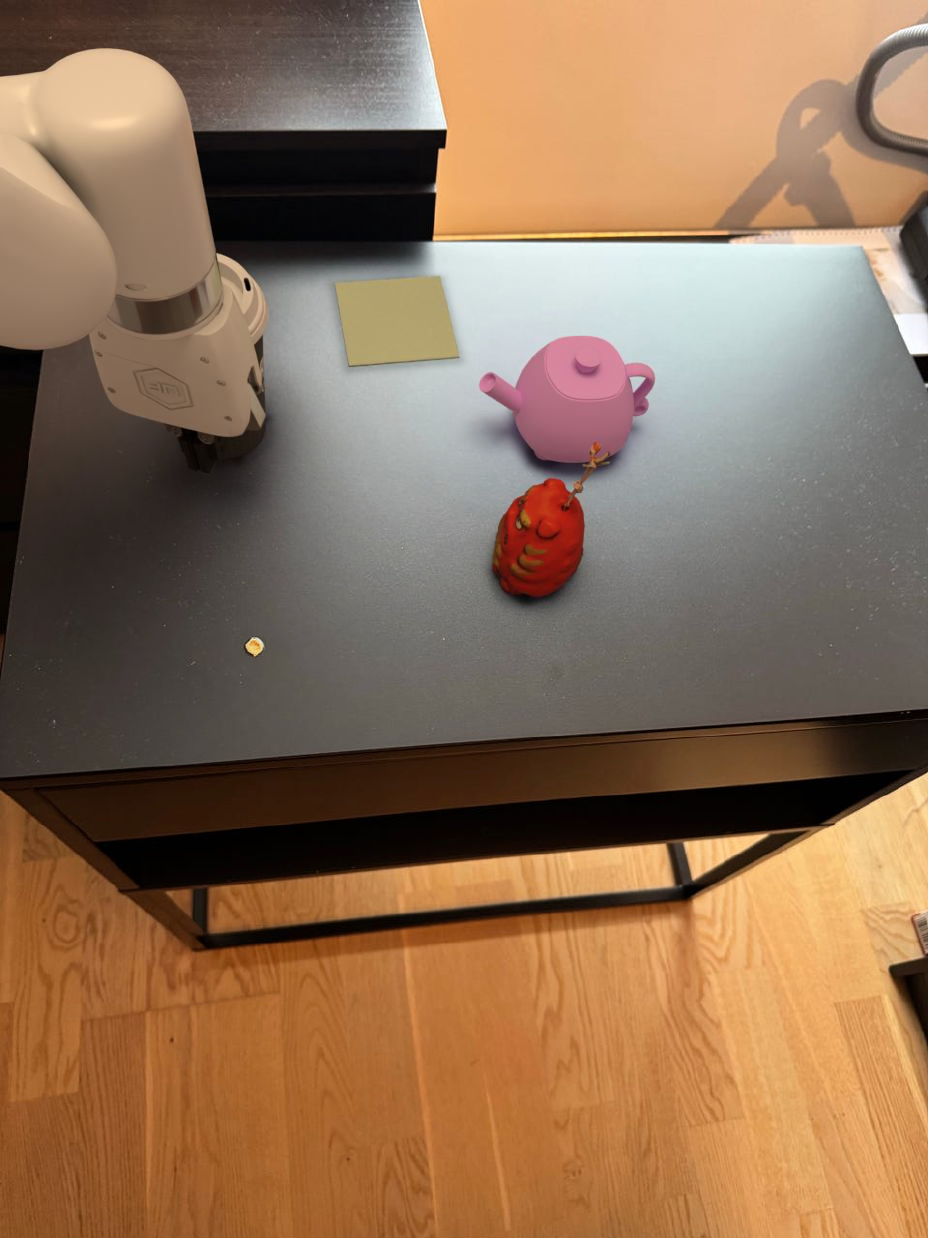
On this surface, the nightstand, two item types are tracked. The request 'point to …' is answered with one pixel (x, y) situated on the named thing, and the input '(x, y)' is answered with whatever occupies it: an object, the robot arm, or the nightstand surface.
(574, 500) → the red clay folk toy
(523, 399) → the teapot
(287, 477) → the nightstand surface
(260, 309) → the coffee cup
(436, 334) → the mat
